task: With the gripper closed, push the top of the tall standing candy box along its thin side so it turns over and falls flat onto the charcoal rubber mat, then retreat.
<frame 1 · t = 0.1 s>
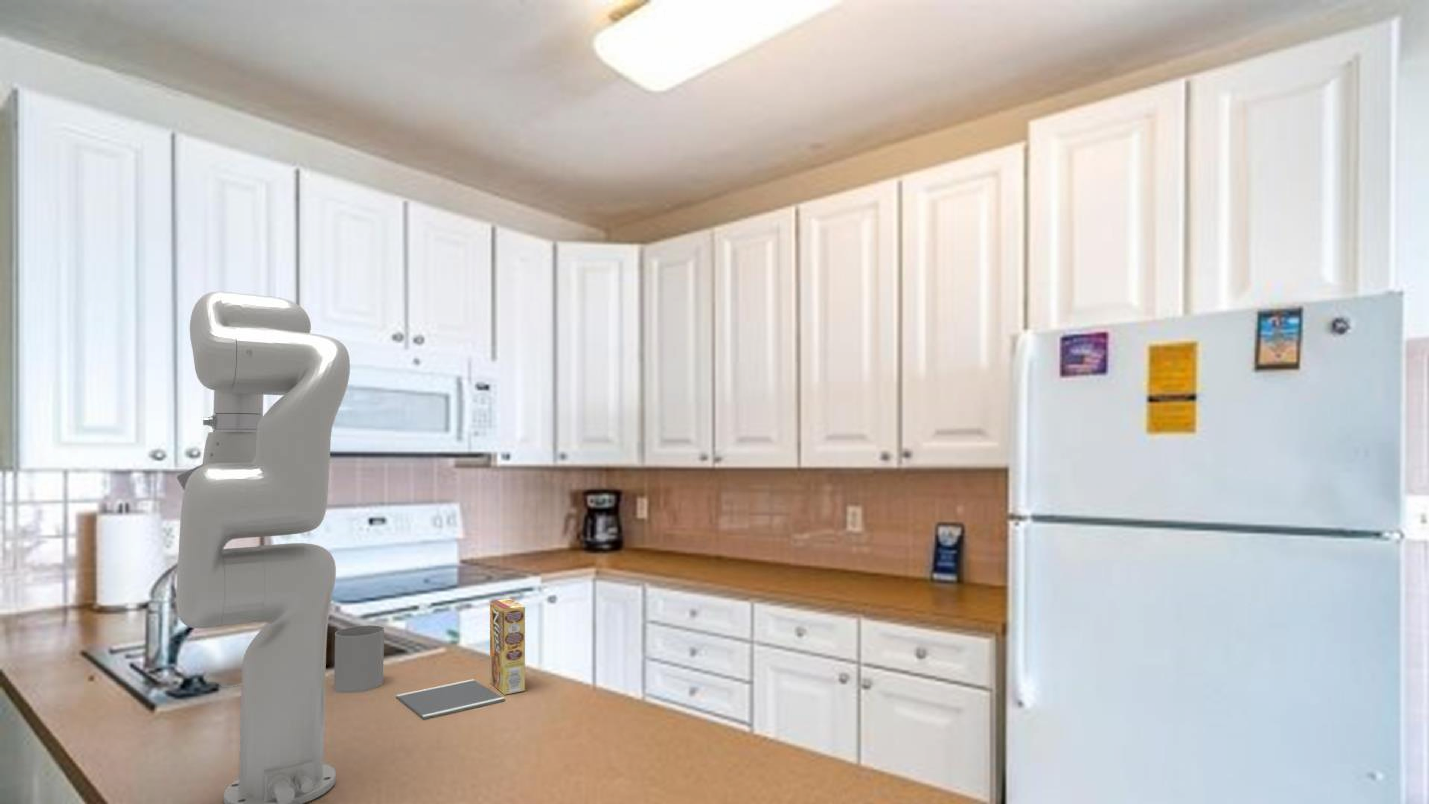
hand: (234, 521, 135), 31 cm above the counter, fingers open, 9 cm apart
mat: (450, 699, 134), on the counter
cup: (358, 686, 142), on the counter
candy box: (506, 688, 140), on the counter
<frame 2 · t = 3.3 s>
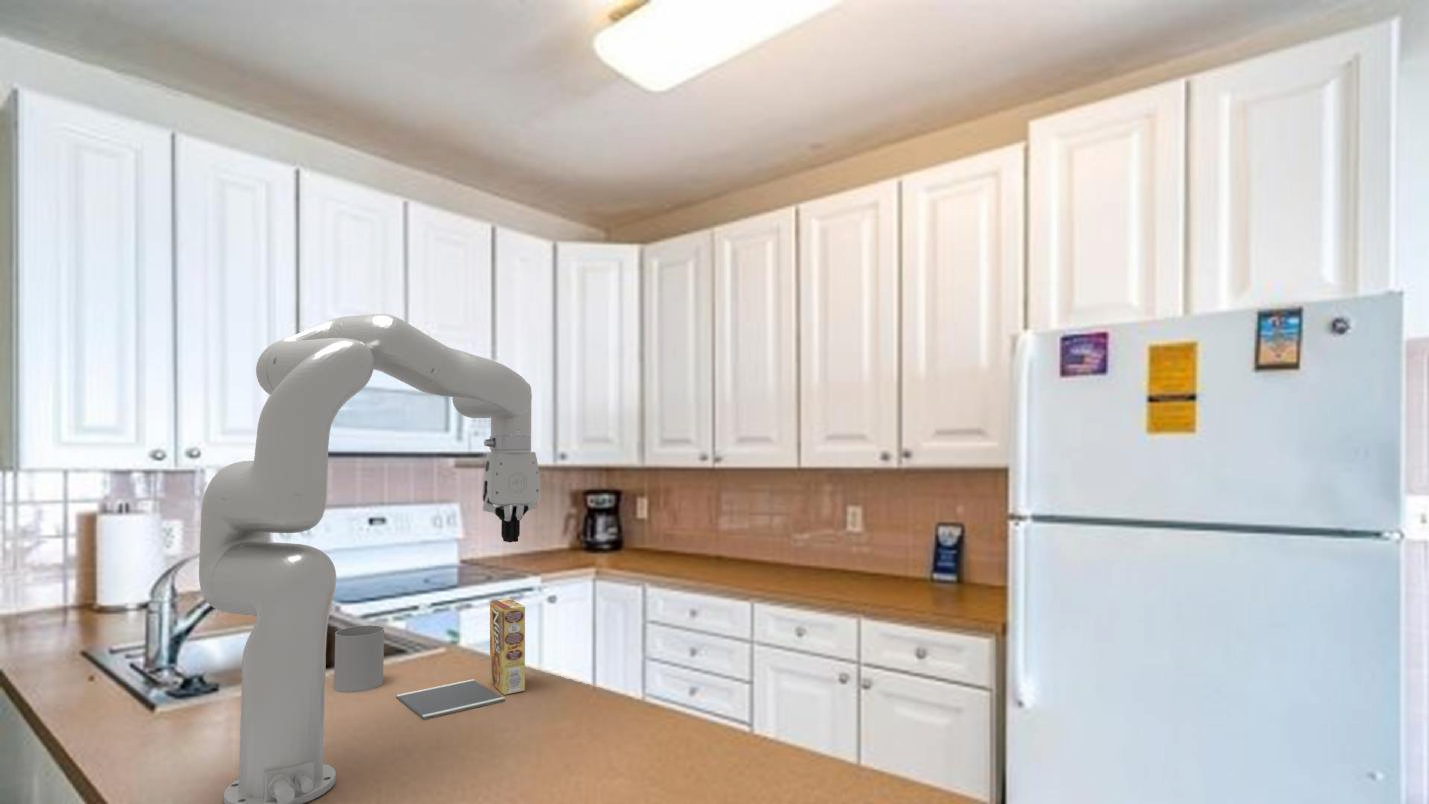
hand: (510, 541, 145), 26 cm above the counter, fingers closed
nothing on the counter moved.
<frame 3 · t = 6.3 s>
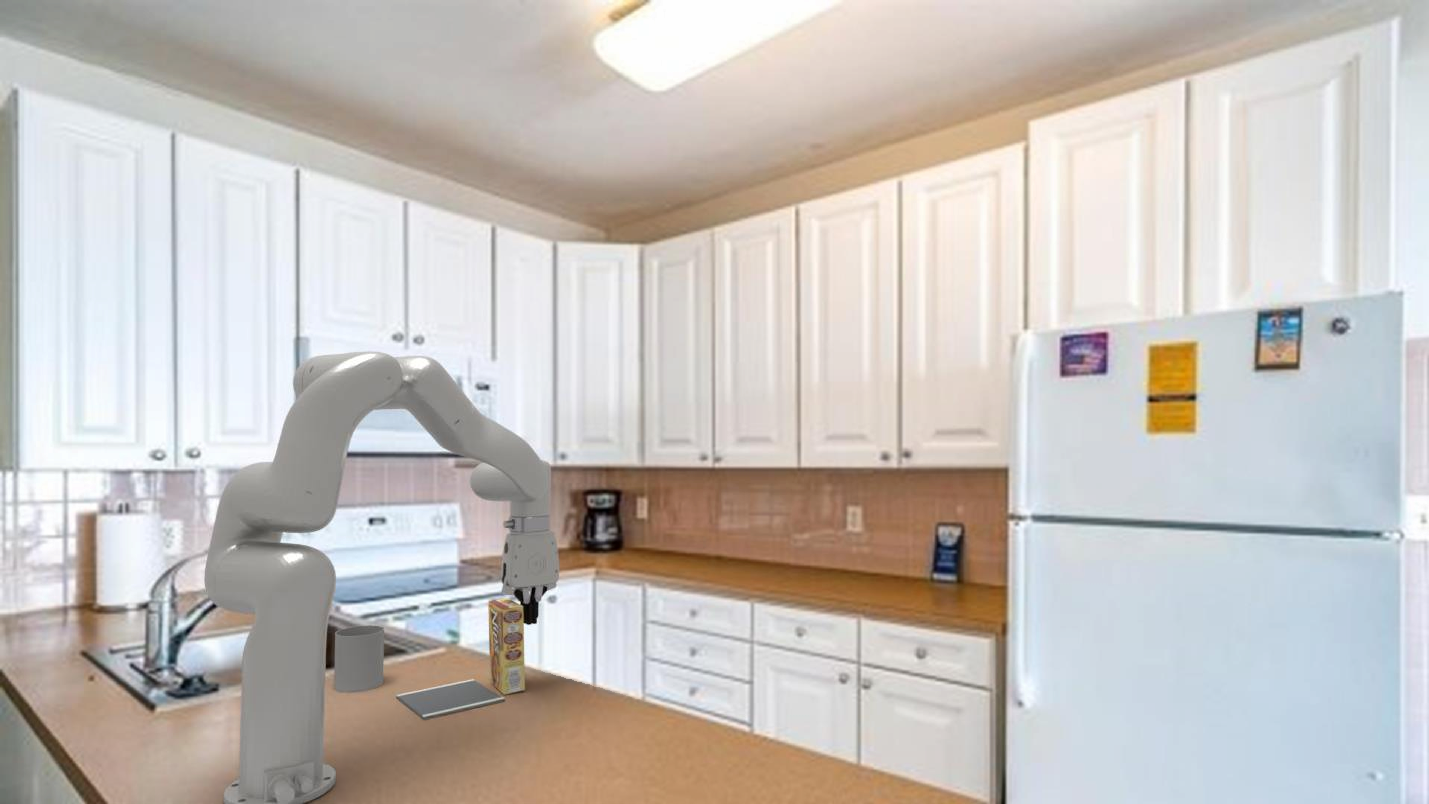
hand: (529, 622, 144), 11 cm above the counter, fingers closed
candy box: (506, 688, 140), on the counter, touching gripper
everything else where it was.
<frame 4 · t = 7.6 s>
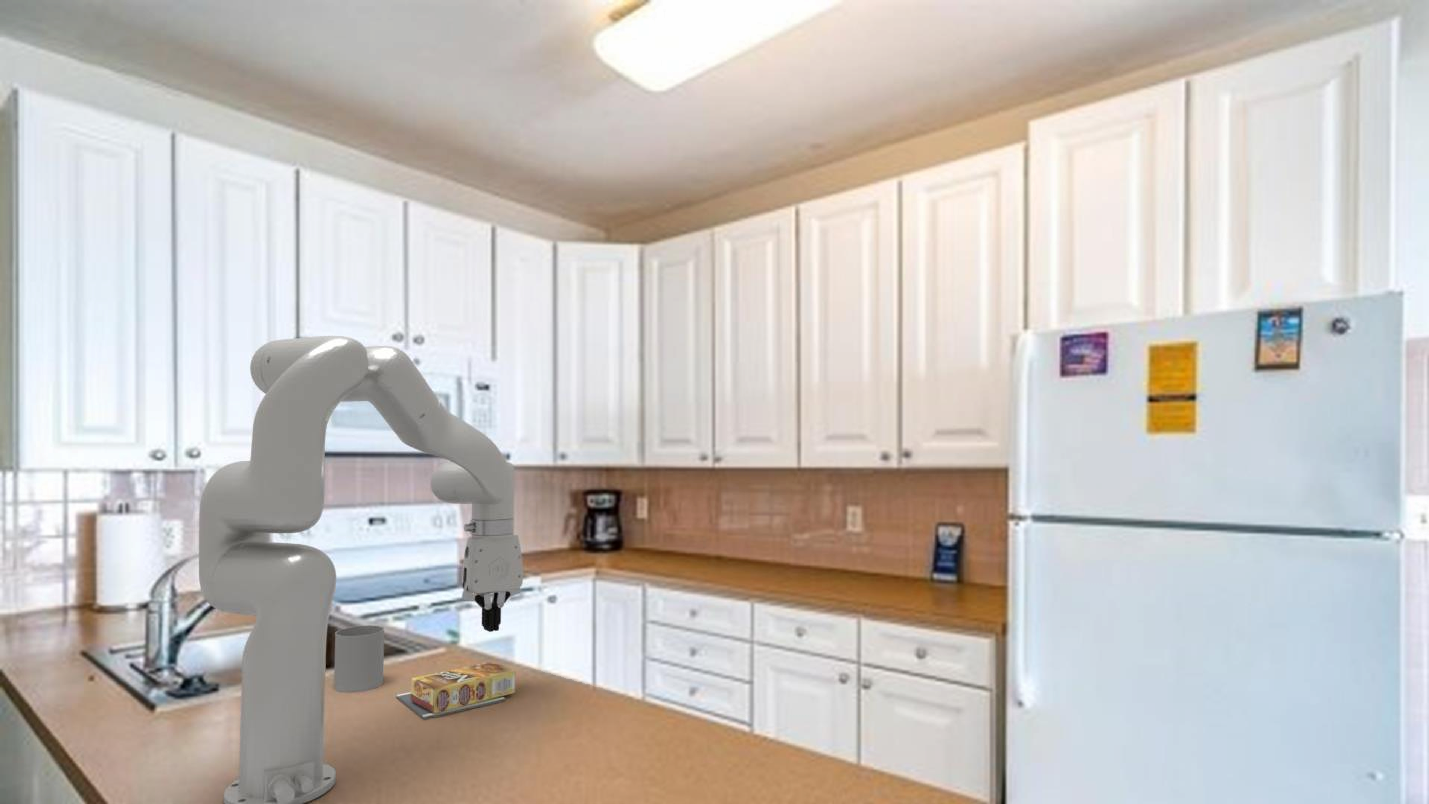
hand: (491, 629, 139), 11 cm above the counter, fingers closed
candy box: (504, 676, 139), point 2 cm above the counter, touching mat
everything else where it was.
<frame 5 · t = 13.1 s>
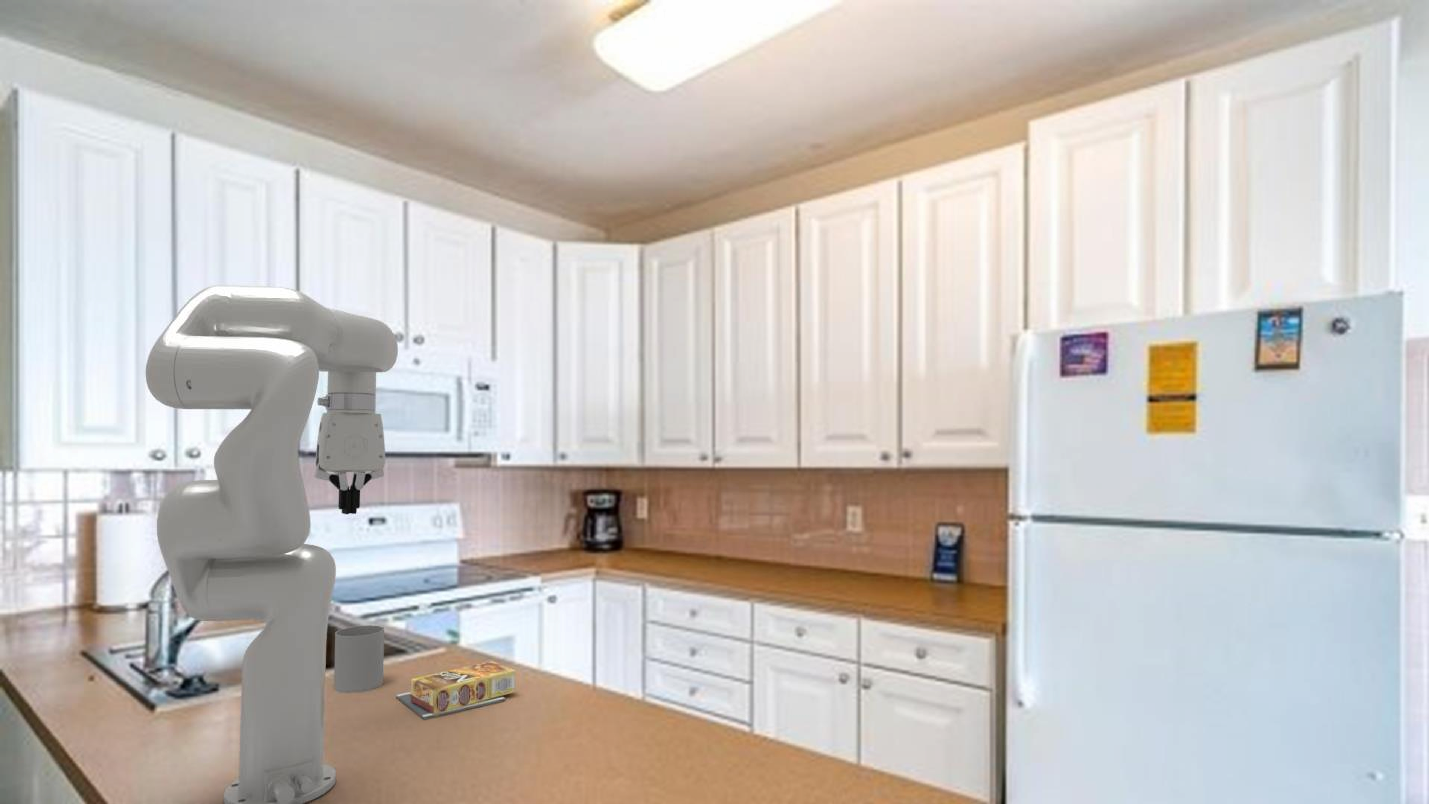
hand: (349, 513, 129), 33 cm above the counter, fingers closed
nothing on the counter moved.
at the end: candy box tilted 90°; candy box inside the target area (7.1 cm from its centre), point 2.5 cm above the counter; the gripper is holding nothing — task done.
